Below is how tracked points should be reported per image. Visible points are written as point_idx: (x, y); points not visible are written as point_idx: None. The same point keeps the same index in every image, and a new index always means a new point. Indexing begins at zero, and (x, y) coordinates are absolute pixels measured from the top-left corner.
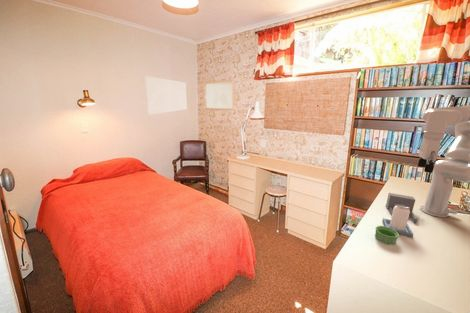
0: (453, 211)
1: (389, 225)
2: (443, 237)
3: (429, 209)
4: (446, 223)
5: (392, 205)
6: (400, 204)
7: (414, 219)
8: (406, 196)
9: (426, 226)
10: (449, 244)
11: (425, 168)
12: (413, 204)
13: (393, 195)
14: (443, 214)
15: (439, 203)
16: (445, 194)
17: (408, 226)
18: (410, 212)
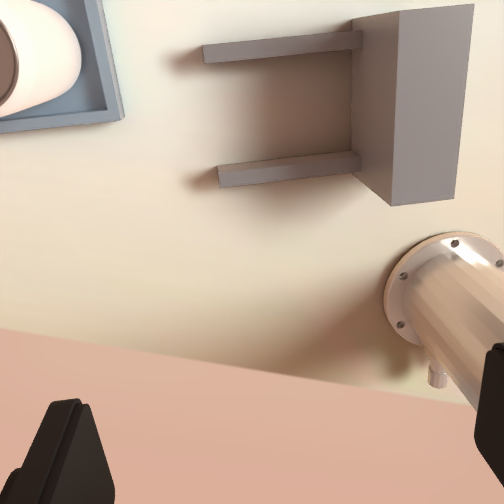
0: (434, 374)
1: (43, 2)
2: (125, 279)
3: (425, 274)
4: (318, 319)
5: (365, 49)
6: (10, 43)
7: (218, 172)
8: (439, 151)
9: (212, 226)
10: (60, 289)
11: (27, 466)
12: (375, 189)
13: (414, 41)
14: (411, 326)
15: (434, 336)
16: (471, 397)
17: (73, 121)
18: (311, 162)
